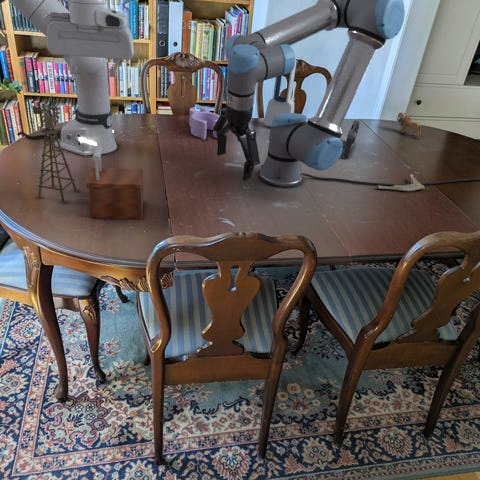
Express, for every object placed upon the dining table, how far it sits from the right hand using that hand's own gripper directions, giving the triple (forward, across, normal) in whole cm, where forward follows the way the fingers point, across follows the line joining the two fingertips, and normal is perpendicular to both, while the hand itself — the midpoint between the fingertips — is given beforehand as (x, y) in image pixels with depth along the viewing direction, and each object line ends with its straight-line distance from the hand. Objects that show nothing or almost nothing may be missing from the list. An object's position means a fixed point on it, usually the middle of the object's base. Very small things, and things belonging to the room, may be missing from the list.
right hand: (233, 166), depth 142 cm
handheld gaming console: (+27, -10, +69) cm, 75 cm away
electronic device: (+32, -44, +58) cm, 79 cm away
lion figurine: (+34, -11, +112) cm, 117 cm away
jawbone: (+19, +21, +60) cm, 67 cm away
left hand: (-28, -20, -32) cm, 47 cm away
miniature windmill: (+11, -26, -46) cm, 55 cm away
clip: (+28, -53, +24) cm, 65 cm away
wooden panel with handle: (0, -12, -33) cm, 35 cm away
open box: (+9, -10, -34) cm, 37 cm away
